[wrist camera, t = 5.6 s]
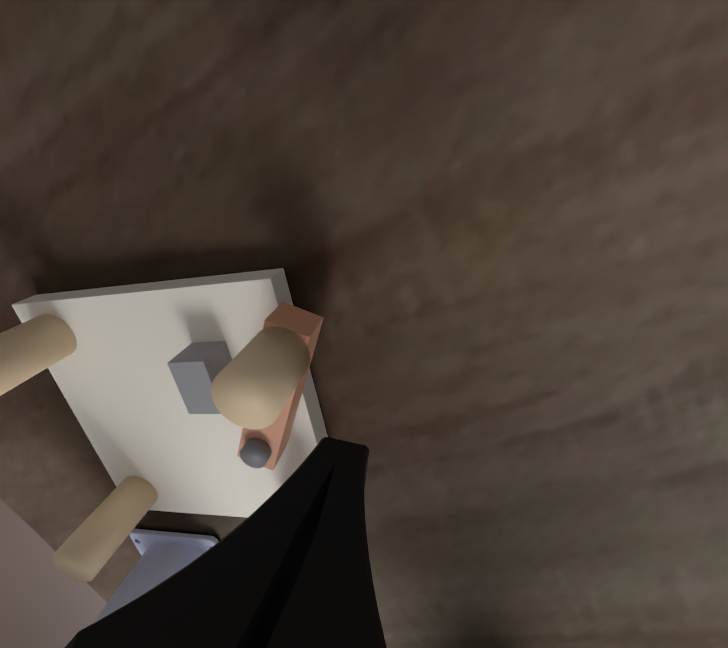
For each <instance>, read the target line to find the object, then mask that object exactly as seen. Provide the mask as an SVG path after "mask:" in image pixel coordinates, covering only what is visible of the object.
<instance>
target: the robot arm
mask: <svg viewBox="0 0 728 648" xmlns="http://www.w3.org/2000/svg"><path fill="white" fill-rule="evenodd" d="M368 455H369V449H368V448H367V447H366V446H365V445H360V444H356V443H351V442H347V441H342V440H338V439H334V438H329V437H324V438H322V439H321V440H320V442H319V443H318V444H317V446H316V447H315V448H314V449H313V451H312V452H311V453H310V454H309V456H308V457H307V458H306V459H305V460H304V461H303V463H302V464H301V465H300V466H299V467H298V468H297V469H296V471H295V472H294V473H293V474H292V475H291V476H290V477H289V478H288V479H287V480H286V481H285V482H284V483H283V484H282V485H281V486H280V487H279V489H278V490H277V491H276V492H275V493H274V494H272V495H271V496H270V497H269V498H268V499H267V500H266V501H265V502H264V503H263V504H262V505H261V506H260V507H259V508H258V509H257V510H256V511H255V512H254V513H252V514H251V515H250V516H249V517H248V518H247V519H246V520H245V521H243V522H242V523H241V524H240V525H239V526H238V527H236V528H235V529H234V530H233V531H232V532H230V533H229V534H228V535H227V536H225V537H224V538H223V539H222V540H220V541H218V539H217V538H216V537H214V536H209V535H198V534H187V533H176V532H165V531H154V530H143V529H133V530H132V531H131V533H130V537H131V539H132V541H133V542H134V544H135V546H136V547H137V549H138V551H139V552H140V554H141V556H142V557H141V558H140V559H139V561H138V562H137V563H136V565H135V566H134V567H133V569H132V570H131V572H130V573H129V574H128V576H127V577H126V578H125V580H124V581H123V582H122V584H121V585H120V586H119V588H118V589H117V590H116V592H115V593H114V595H113V596H112V597H111V599H110V600H109V601H108V603H107V604H106V606H105V607H104V608H103V609H102V611H101V612H100V614H99V615H98V616H97V618H96V619H95V620H94V622H93V623H92V624H91V625H90V626H88V627H86V628H84V629H82V630H81V631H79V632H78V633H77V634H76V635H75V637H74V638H73V639H72V640H71V641H70V642H69V643H68V644H67V646H66V647H65V648H386V643H385V639H384V634H383V630H382V626H381V621H380V617H379V612H378V607H377V602H376V597H375V591H374V586H373V580H372V574H371V568H370V561H369V553H368V545H367V535H366V524H365V505H364V487H365V479H366V471H367V463H368Z"/></svg>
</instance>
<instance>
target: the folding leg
mask: <svg viewBox="0 0 728 648" xmlns="http://www.w3.org/2000/svg"><path fill="white" fill-rule="evenodd" d="M323 318H324V317H321V316H319V315H316V314H313V313H311V312H308V311H306V310H303V309H300V308H298V307H295V306H292V305H290V304H287V303H285V302H282V303H281V304H280V305H279V306H278V307H277V308H276V309H275V310H274V311H273V312H272V313H271V314H270V315H269V316H268V317H267V318H266V319H265V321H264V326H263V329H262V330H261V331H259V332H258V334H257V335H256V336H255V337H254V338H253V339H252V340H251V341H250V342H249V343H248V344H247V345H246V346H245V347H244V348H243V349H242V350H241V351H240V352H239V353H238V354H237V355H236V356H235V357H234V358H233V359H232V360H231V361H230V362H229V363H228V365H227V366H226V367H225V368H224V369H223V370H222V371H221V372H220V373H219V374H218V375H217V376H216V377H215V378H214V380H213V382H212V385H211V396H212V400H213V402H214V404H215V406H216V408H217V409H218V410H219V412H220V413H221V414H222V415H223V416H224V417H225V418H226V419H228V420H229V421H231V422H232V423H234V424H236V425H238V426H240V427H243V429H242V434H241V439H240V444H239V449H238V454H237V456H238V457H240V458H241V460H242V461H243V462H244V463H245V464H246V465H248V466H250V467H252V468H262V467H265V468H268V469H270V470H274V468H275V466H276V464H277V462H278V461H279V459H280V457H281V455H282V453H283V451H284V450H285V448H286V446H287V443H288V440H289V437H290V433H291V430H292V426H293V423H294V419H295V416H296V412H297V409H298V405H299V402H300V398H301V395H302V391H303V388H304V384H305V381H306V377H307V374H308V370H309V367H310V364H311V360H312V357H313V353H314V350H315V346H316V343H317V339H318V336H319V332H320V329H321V325H322V322H323Z"/></svg>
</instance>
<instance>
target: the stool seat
mask: <svg viewBox="0 0 728 648" xmlns="http://www.w3.org/2000/svg"><path fill="white" fill-rule="evenodd" d="M282 302H285V303H287V304H290V305H292V306H293V302H292V299H291V295H290V291H289V287H288V283H287V280H286V276H285V272H284V268H279V269H270V270H261V271H252V272H242V273H233V274H224V275H214V276H205V277H196V278H187V279H177V280H168V281H159V282H150V283H140V284H131V285H122V286H112V287H103V288H94V289H85V290H75V291H66V292H57V293H48V294H38V295H34V296H32V297H29V298H27V299H25V300H22V301H20V302H17V303H15V304H12V307H13V308H14V310H15V312H16V314H17V315H18V317H19V319H20V321H21V322H22V324H19V325H17V326H15V327H13V328H11V329H9V330H6V331H4V332H2V333H0V396H1V395H2V394H4V393H6V392H7V391H9V390H11V389H13V388H14V387H16V386H18V385H19V384H21V383H23V382H24V381H26V380H28V379H29V378H31V377H33V376H34V375H36V374H38V373H40V372H41V371H43V370H45V369H46V368H48V369H49V371H50V373H51V374H52V376H53V378H54V380H55V381H56V383H57V385H58V386H59V388H60V390H61V392H62V393H63V395H64V397H65V399H66V400H67V402H68V404H69V406H70V407H71V409H72V411H73V413H74V414H75V416H76V418H77V419H78V421H79V423H80V425H81V426H82V428H83V430H84V432H85V433H86V435H87V437H88V439H89V440H90V442H91V444H92V445H93V447H94V449H95V451H96V452H97V454H98V456H99V458H100V459H101V461H102V463H103V465H104V466H105V468H106V470H107V472H108V473H109V475H110V477H111V478H112V480H113V482H114V484H115V485H116V488H115V489H114V490H113V491H112V492H111V494H110V495H109V496H108V497H107V498H106V499H105V500H104V501H103V502H102V503H101V504H100V505H99V506H98V507H97V508H96V509H95V510H94V512H93V513H92V514H91V515H90V516H89V517H88V518H87V519H86V520H85V521H84V522H83V523H82V524H81V525H80V526H79V527H78V528H77V529H76V531H75V532H74V533H73V534H72V535H71V536H70V537H69V538H68V539H67V540H66V541H65V542H64V543H63V544H62V545H61V546H60V547H59V548H58V550H57V551H56V552H55V553H54V554H53V556H52V560H53V562H54V564H55V565H56V567H57V568H58V569H59V570H60V571H62V572H63V573H64V574H66V575H67V576H69V577H71V578H73V579H75V580H78V581H81V582H90V581H92V580H93V578H94V577H95V576H96V575H97V573H98V572H99V571H100V570H101V569H102V567H103V566H104V565H105V564H106V562H107V561H108V560H109V559H110V557H111V556H112V555H113V554H114V552H115V551H116V550H117V549H118V547H119V546H120V545H121V544H122V542H123V541H124V540H125V539H126V538H127V536H128V535H129V534H130V533H131V531H132V530H133V529H134V528H135V526H136V525H137V524H138V523H139V521H140V520H141V519H142V518H143V516H144V515H145V514H146V513H147V512H148V510H153V511H167V512H180V513H194V514H207V515H221V516H234V517H247V518H248V517H249V516H250V515H251V514H252V513H254V512H255V511H256V510H257V509H258V508H259V507H260V506H261V505H262V504H263V503H264V502H265V501H266V500H267V499H268V498H269V497H270V496H271V495H272V494H274V493H275V492H276V491H277V490H278V489H279V487H280V486H281V485H282V484H283V483H284V482H285V481H286V480H287V479H288V478H289V477H290V476H291V475H292V474H293V473H294V472H295V471H296V469H297V468H298V467H299V466H300V465H301V464H302V463H303V461H304V460H305V459H306V458H307V457H308V456H309V454H310V453H311V452H312V451H313V449H314V448H315V447H316V446H317V444H318V443H319V442H320V440H321V439H322V438H324V437H328V435H327V432H326V428H325V424H324V420H323V416H322V413H321V409H320V405H319V401H318V397H317V394H316V390H315V386H314V382H313V378H312V375H311V371H310V367H309V370H308V374H307V377H306V381H305V384H304V388H303V391H302V395H301V398H300V402H299V405H298V409H297V412H296V416H295V419H294V423H293V426H292V430H291V433H290V437H289V440H288V443H287V446H286V448H285V450H284V451H283V453H282V455H281V457H280V459H279V461H278V462H277V464H276V466H275V468H274V470H270V469H268V468H265V467H262V468H252V467H250V466H248V465H246V464H245V463H244V462H243V461H242V460H241V458H240V457H238V456H237V454H238V449H239V444H240V439H241V434H242V429H243V427H240V426H238V425H236V424H234V423H232V422H231V421H229V420H228V419H226V418H225V417H224V416H223V415H222V414H221V413H220V412H219V410H218V409H217V408H216V406H215V404H214V402H213V400H212V396H211V385H212V382H213V380H214V378H215V377H216V376H217V375H218V374H219V373H220V372H221V371H222V370H223V369H224V368H225V367H226V366H227V365H228V363H229V362H230V361H231V360H232V359H233V358H234V357H235V356H236V355H237V354H238V353H239V352H240V351H241V350H242V349H243V348H244V347H245V346H246V345H247V344H248V343H249V342H250V341H251V340H252V339H253V338H254V337H255V336H256V335H257V334H258V332H259V331H261V330H262V329H263V326H264V321H265V319H266V318H267V317H268V316H269V315H270V314H271V313H272V312H273V311H274V310H275V309H276V308H277V307H278V306H279V305H280V304H281V303H282Z"/></svg>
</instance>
